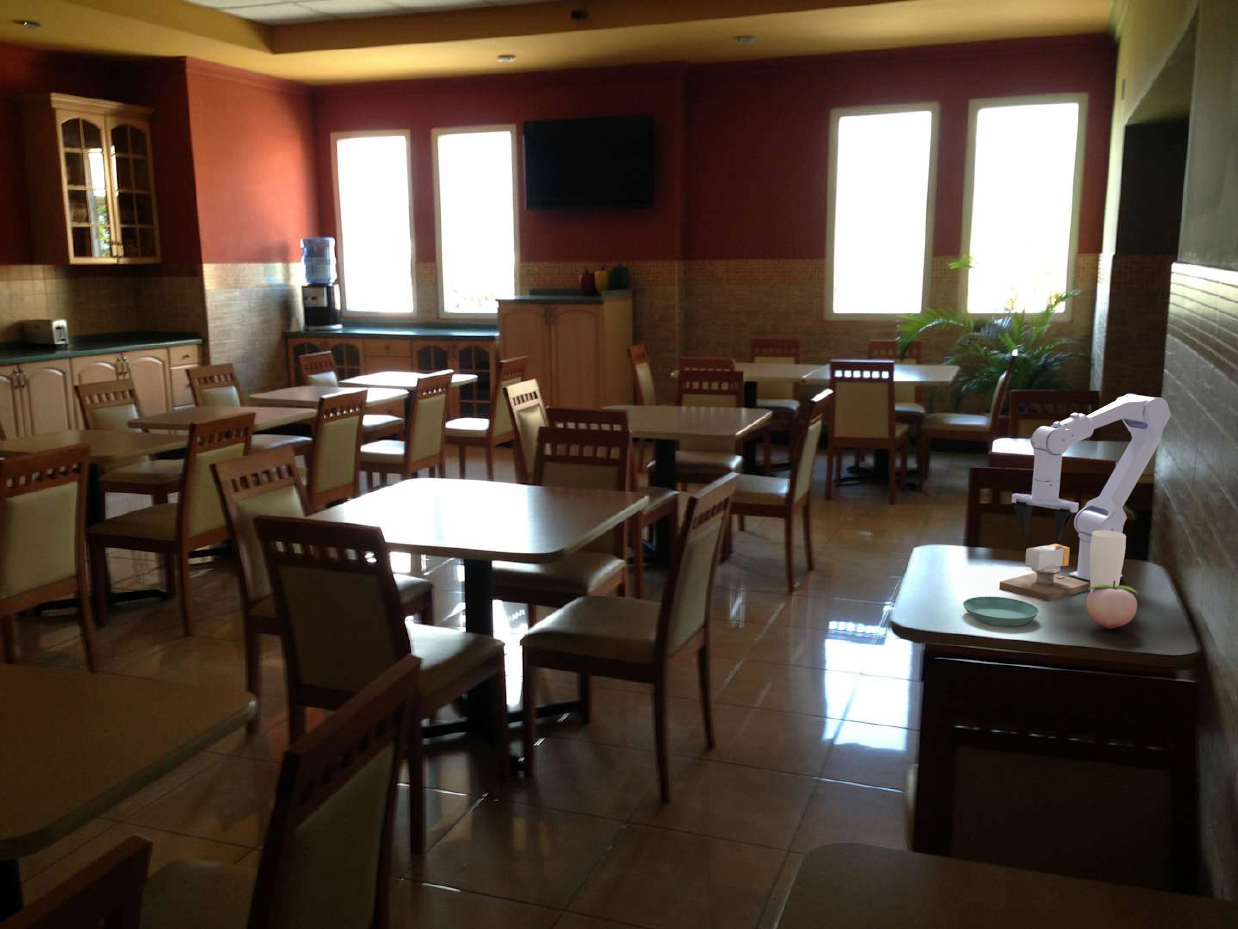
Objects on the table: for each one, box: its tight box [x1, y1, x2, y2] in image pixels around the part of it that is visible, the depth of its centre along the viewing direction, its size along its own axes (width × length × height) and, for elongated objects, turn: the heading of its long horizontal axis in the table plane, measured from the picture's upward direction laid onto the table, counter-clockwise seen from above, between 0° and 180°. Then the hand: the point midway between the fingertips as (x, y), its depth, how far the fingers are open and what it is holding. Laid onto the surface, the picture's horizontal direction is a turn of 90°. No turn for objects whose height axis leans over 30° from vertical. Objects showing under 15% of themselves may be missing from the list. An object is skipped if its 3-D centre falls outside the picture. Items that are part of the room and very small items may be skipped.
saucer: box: [962, 595, 1040, 627], centre depth 212 cm, size 15×15×3 cm
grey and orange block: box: [1024, 543, 1070, 575], centre depth 232 cm, size 6×9×5 cm, turn 116°
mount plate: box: [998, 572, 1090, 602], centre depth 232 cm, size 16×12×4 cm
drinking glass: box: [1089, 530, 1127, 593], centre depth 223 cm, size 7×7×15 cm
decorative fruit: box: [1086, 581, 1140, 630], centre depth 205 cm, size 9×8×10 cm
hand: (1041, 537), depth 236 cm, fingers open, 7 cm apart
